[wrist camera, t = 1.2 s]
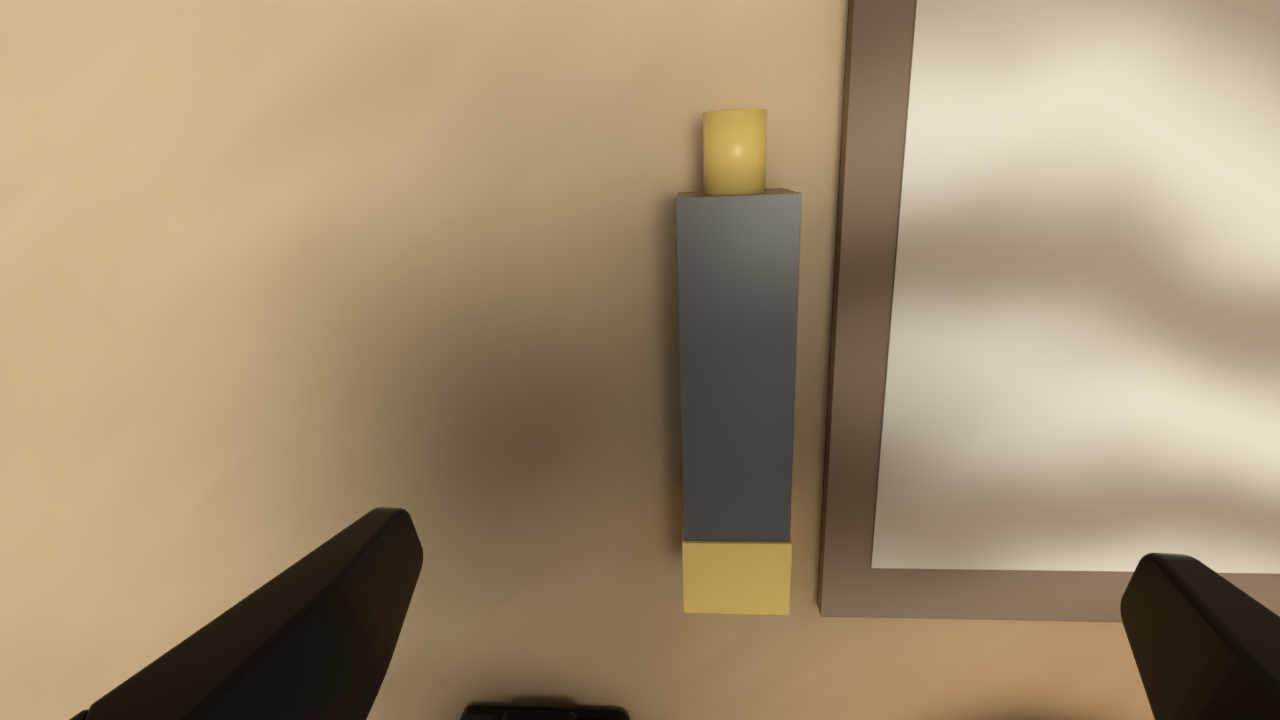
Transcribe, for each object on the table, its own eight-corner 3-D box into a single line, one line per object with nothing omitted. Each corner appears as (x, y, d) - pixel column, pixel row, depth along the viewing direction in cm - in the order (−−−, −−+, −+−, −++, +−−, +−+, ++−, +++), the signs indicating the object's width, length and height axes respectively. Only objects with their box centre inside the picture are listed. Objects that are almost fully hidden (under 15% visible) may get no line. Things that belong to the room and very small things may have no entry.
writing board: (1319, 613, 21) (1340, 628, 20) (817, 604, 22) (821, 618, 21) (1596, -215, 14) (1641, -233, 13) (857, -154, 15) (864, -168, 15)
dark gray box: (776, 552, 22) (789, 615, 19) (684, 552, 22) (683, 613, 19) (788, 113, 17) (807, 103, 14) (675, 118, 18) (671, 110, 15)
